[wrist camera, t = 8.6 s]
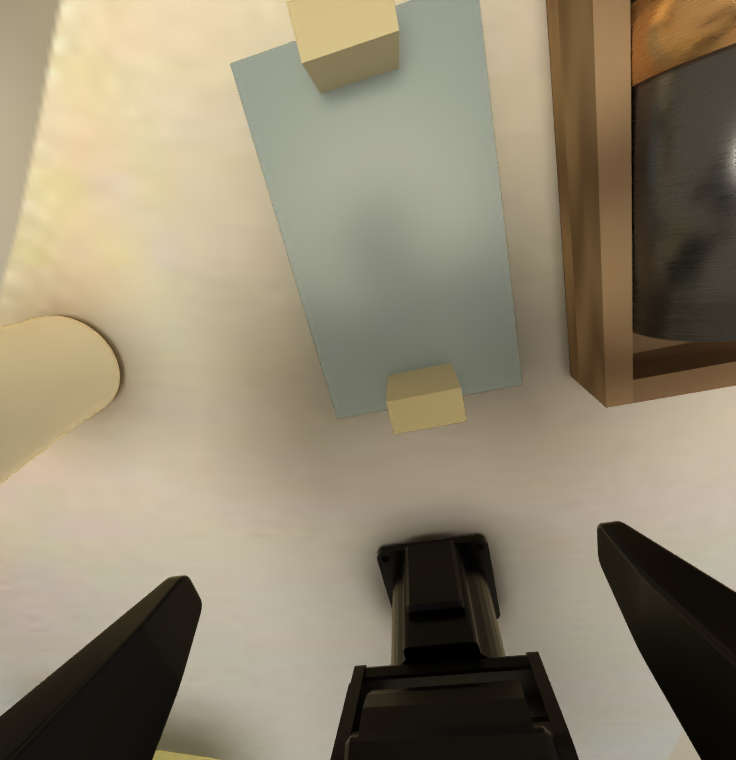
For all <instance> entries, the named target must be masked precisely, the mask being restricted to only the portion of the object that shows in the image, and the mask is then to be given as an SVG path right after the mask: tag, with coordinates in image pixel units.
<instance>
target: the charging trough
mask: <svg viewBox="0 0 736 760" xmlns="http://www.w3.org/2000/svg"><path fill="white" fill-rule="evenodd" d="M546 4H547V19H548V34H549V49H550V64H551V80H552V95H553V110H554V125H555V140H556V156H557V171H558V186H559V201H560V216H561V232H562V247H563V262H564V277H565V293H566V308H567V323H568V338H569V353H570V369H571V377H573V378H574V379H575V380H576V381H577V382H578V383H579V384H580V385H582V386H583V387H584V388H585V389H586V390H587V391H588V392H589V393H590V394H592V395H593V396H594V397H595V398H596V399H597V400H598V401H599V402H601V403H602V404H603V405H604V406H605V407H606V408H607V407H612V406H618V405H624V404H630V403H636V402H642V401H647V400H653V399H659V398H665V397H671V396H677V395H682V394H688V393H694V392H700V391H706V390H711V389H717V388H723V387H729V386H735V385H736V341H723V342H684V341H671V340H663V339H656V338H651V337H646V336H643V335H639V334H636V333H634V332H633V324H632V173H631V22H630V0H546Z"/></svg>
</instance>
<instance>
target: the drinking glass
mask: <svg viewBox="0 0 736 760" xmlns="http://www.w3.org/2000/svg"><path fill="white" fill-rule="evenodd" d="M119 384H120V370H119V365H118V362H117V359H116V357H115V354H114V352H113V351H112V349H111V348H110V346H109V345H108V343H107V342H106V341H105V340H104V339H103V338H102V337H101V336H100V335H99V334H98V333H97V332H96V331H95V330H93V329H92V328H90V327H89V326H87V325H85V324H84V323H82V322H79V321H77V320H74V319H71V318H68V317H63V316H42V317H37V318H33V319H29V320H25V321H21V322H17V323H13V324H9V325H3V326H0V484H1V483H3V482H4V481H5V480H7V479H8V478H9V477H10V476H12V475H13V474H14V473H16V472H17V471H18V470H20V469H21V468H22V467H23V466H25V465H26V464H27V463H29V462H30V461H31V460H33V459H34V458H35V457H36V456H38V455H39V454H40V453H42V452H43V451H44V450H46V449H47V448H48V447H49V446H51V445H52V444H53V443H55V442H56V441H57V440H59V439H60V438H61V437H63V436H64V435H65V434H67V433H68V432H69V431H71V430H72V429H73V428H75V427H76V426H77V425H79V424H80V423H81V422H83V421H84V420H86V419H87V418H89V417H91V416H92V415H94V414H95V413H97V412H99V411H100V410H102V409H103V408H104V407H106V406H107V405H108V404H109V403H110V402H111V401H112V400H113V398H114V397H115V395H116V393H117V391H118V388H119Z"/></svg>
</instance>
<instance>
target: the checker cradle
mask: <svg viewBox="0 0 736 760" xmlns="http://www.w3.org/2000/svg"><path fill="white" fill-rule="evenodd" d="M287 6H288V10H289V14H290V18H291V22H292V26H293V30H294V34H295V38H296V41H293V42H291V43H288V44H285V45H282V46H279V47H276V48H273V49H270V50H268V51H265V52H262V53H259V54H256V55H253V56H250V57H248V58H245V59H242V60H239V61H236V62H233V63H230V65H231V69H232V72H233V75H234V79H235V82H236V85H237V89H238V92H239V95H240V98H241V102H242V105H243V108H244V112H245V115H246V118H247V122H248V125H249V128H250V132H251V135H252V138H253V142H254V145H255V148H256V152H257V155H258V158H259V161H260V165H261V168H262V171H263V175H264V178H265V181H266V185H267V188H268V191H269V195H270V198H271V201H272V205H273V208H274V211H275V215H276V218H277V221H278V224H279V228H280V231H281V234H282V238H283V241H284V244H285V248H286V251H287V254H288V258H289V261H290V264H291V268H292V271H293V274H294V278H295V281H296V284H297V288H298V291H299V294H300V297H301V301H302V304H303V307H304V311H305V314H306V317H307V321H308V324H309V327H310V331H311V334H312V337H313V341H314V344H315V347H316V351H317V354H318V357H319V360H320V364H321V367H322V370H323V374H324V377H325V380H326V384H327V387H328V390H329V394H330V397H331V400H332V404H333V407H334V410H335V414H336V417H337V419H340V418H345V417H351V416H356V415H361V414H367V413H372V412H378V411H383V410H388V412H389V416H390V420H391V424H392V428H393V432H394V434H398V433H404V432H409V431H415V430H421V429H426V428H432V427H438V426H443V425H449V424H455V423H461V422H466V421H467V420H466V414H465V408H464V403H463V397H462V396H463V395H469V394H474V393H480V392H485V391H490V390H496V389H501V388H506V387H512V386H517V385H523V384H522V375H521V367H520V358H519V349H518V340H517V331H516V322H515V313H514V305H513V296H512V287H511V278H510V269H509V260H508V252H507V243H506V234H505V225H504V216H503V207H502V198H501V190H500V181H499V172H498V163H497V154H496V145H495V136H494V128H493V119H492V110H491V101H490V92H489V83H488V74H487V66H486V57H485V48H484V39H483V30H482V21H481V12H480V4H479V0H411V1H408V2H405V3H402V4H399V5H397V6H395V3H394V0H290V1H287Z"/></svg>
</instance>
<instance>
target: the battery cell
mask: <svg viewBox="0 0 736 760" xmlns="http://www.w3.org/2000/svg"><path fill="white" fill-rule="evenodd" d="M630 22H631V173H632V324H633V332H634V333H636V334H639V335H643V336H646V337H651V338H656V339H663V340H671V341H684V342H723V341H736V0H630Z"/></svg>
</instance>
